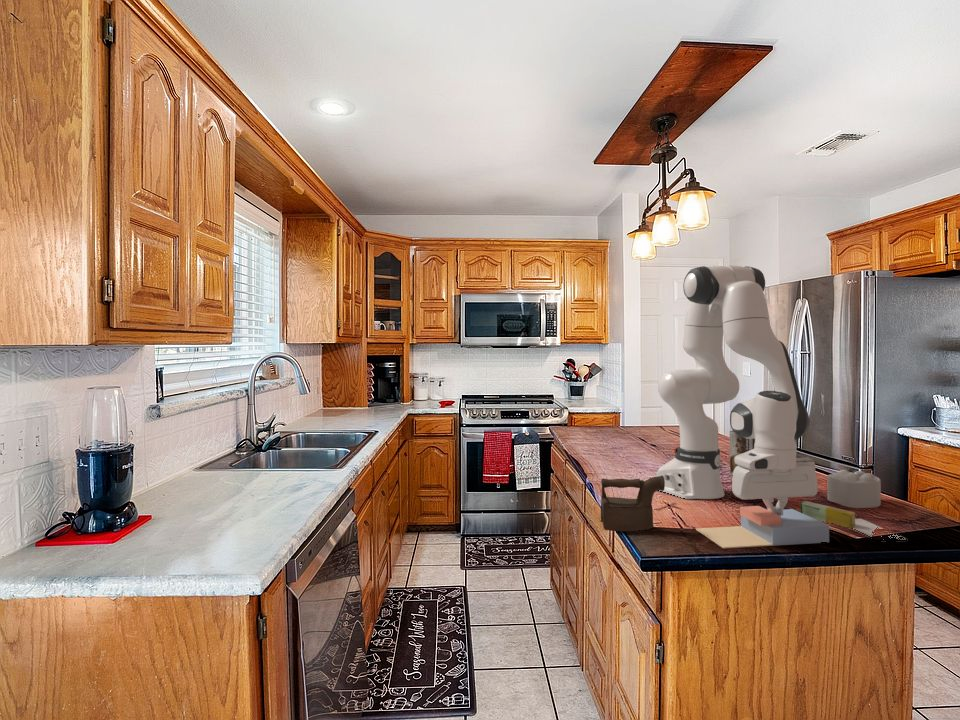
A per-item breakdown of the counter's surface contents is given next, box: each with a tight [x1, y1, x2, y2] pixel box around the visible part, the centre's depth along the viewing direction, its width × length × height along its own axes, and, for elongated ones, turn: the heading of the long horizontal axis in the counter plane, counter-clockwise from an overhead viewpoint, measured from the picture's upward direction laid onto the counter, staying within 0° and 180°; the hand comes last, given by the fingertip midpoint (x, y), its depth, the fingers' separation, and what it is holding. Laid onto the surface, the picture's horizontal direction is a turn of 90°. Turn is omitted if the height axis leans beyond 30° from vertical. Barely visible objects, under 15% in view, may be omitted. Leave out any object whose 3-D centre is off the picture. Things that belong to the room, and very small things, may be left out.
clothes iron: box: [600, 476, 665, 532], centre depth 129 cm, size 8×16×13 cm, turn 79°
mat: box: [695, 525, 773, 549], centre depth 121 cm, size 12×12×1 cm
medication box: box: [800, 500, 856, 529], centre depth 131 cm, size 12×3×4 cm, turn 33°
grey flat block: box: [740, 508, 830, 547], centre depth 122 cm, size 14×12×4 cm
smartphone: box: [852, 517, 907, 540], centre depth 124 cm, size 7×1×15 cm
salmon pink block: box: [739, 505, 781, 526], centre depth 121 cm, size 5×8×2 cm, turn 6°
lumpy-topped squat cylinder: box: [826, 469, 882, 509], centre depth 146 cm, size 10×13×9 cm
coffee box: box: [729, 430, 755, 475], centre depth 175 cm, size 9×6×16 cm
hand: (775, 514), depth 122 cm, fingers closed
